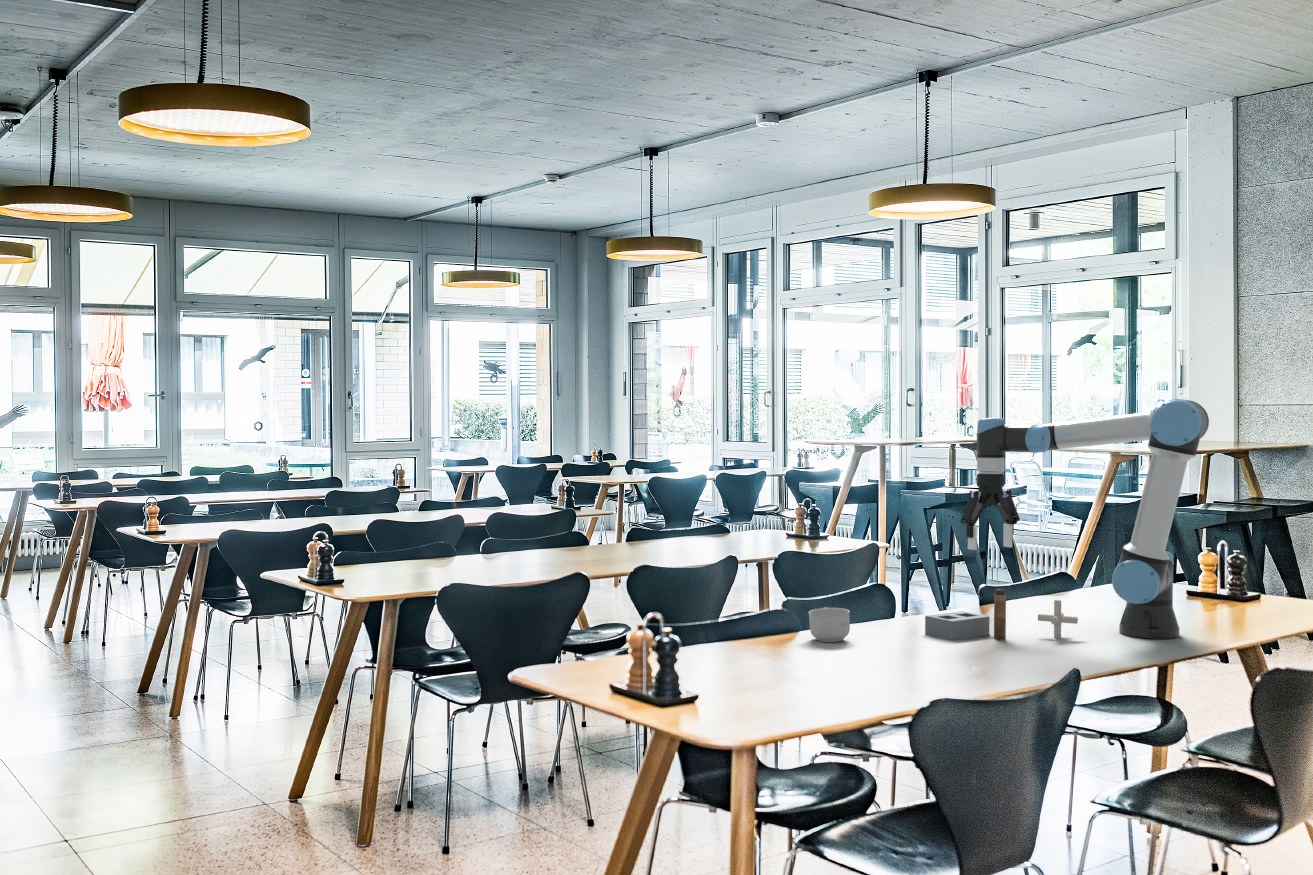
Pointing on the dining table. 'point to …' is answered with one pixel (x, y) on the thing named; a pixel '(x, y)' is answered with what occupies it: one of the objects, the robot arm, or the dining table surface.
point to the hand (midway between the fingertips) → (990, 548)
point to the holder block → (957, 625)
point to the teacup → (829, 624)
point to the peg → (1000, 614)
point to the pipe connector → (1057, 618)
